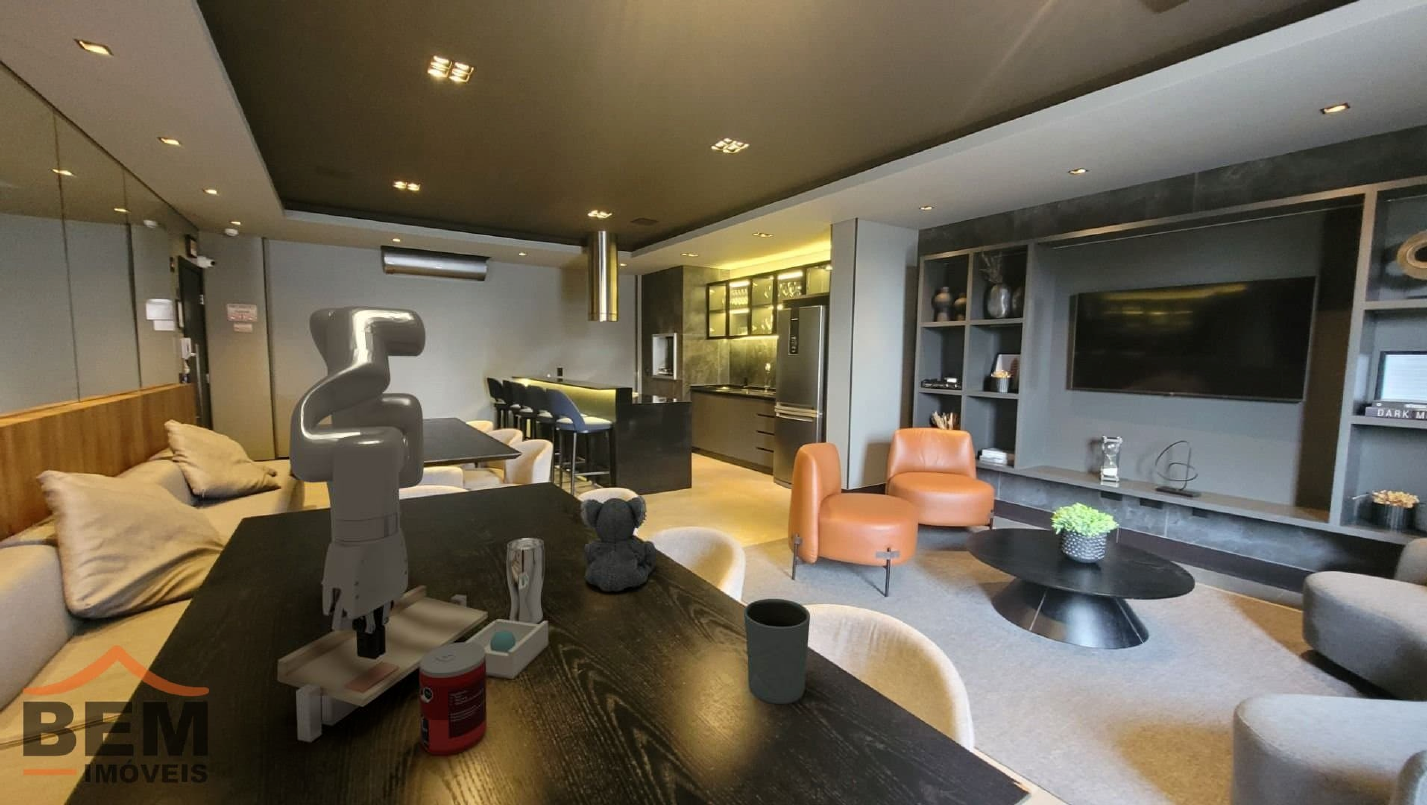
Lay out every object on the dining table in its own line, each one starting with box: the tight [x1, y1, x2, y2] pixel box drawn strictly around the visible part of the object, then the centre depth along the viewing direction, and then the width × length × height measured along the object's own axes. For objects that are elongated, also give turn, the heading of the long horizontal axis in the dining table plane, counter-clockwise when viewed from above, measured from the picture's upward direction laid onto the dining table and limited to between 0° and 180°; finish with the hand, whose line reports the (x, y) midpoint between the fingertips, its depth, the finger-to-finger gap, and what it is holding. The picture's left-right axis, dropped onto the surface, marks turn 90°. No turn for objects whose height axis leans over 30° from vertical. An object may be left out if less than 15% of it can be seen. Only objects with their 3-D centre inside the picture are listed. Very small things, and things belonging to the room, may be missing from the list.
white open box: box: [465, 618, 549, 680], centre depth 92 cm, size 11×11×4 cm
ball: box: [490, 630, 516, 653], centre depth 92 cm, size 4×4×4 cm
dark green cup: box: [743, 598, 811, 705], centre depth 84 cm, size 10×10×12 cm
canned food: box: [418, 641, 488, 756], centre depth 72 cm, size 8×8×11 cm
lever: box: [276, 584, 489, 708], centre depth 85 cm, size 26×14×4 cm, turn 167°
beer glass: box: [505, 537, 546, 624], centre depth 105 cm, size 7×7×15 cm
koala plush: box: [579, 495, 658, 593], centre depth 125 cm, size 17×18×20 cm
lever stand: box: [295, 594, 467, 743], centre depth 86 cm, size 31×2×7 cm, turn 167°
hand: (371, 654), depth 76 cm, fingers closed
